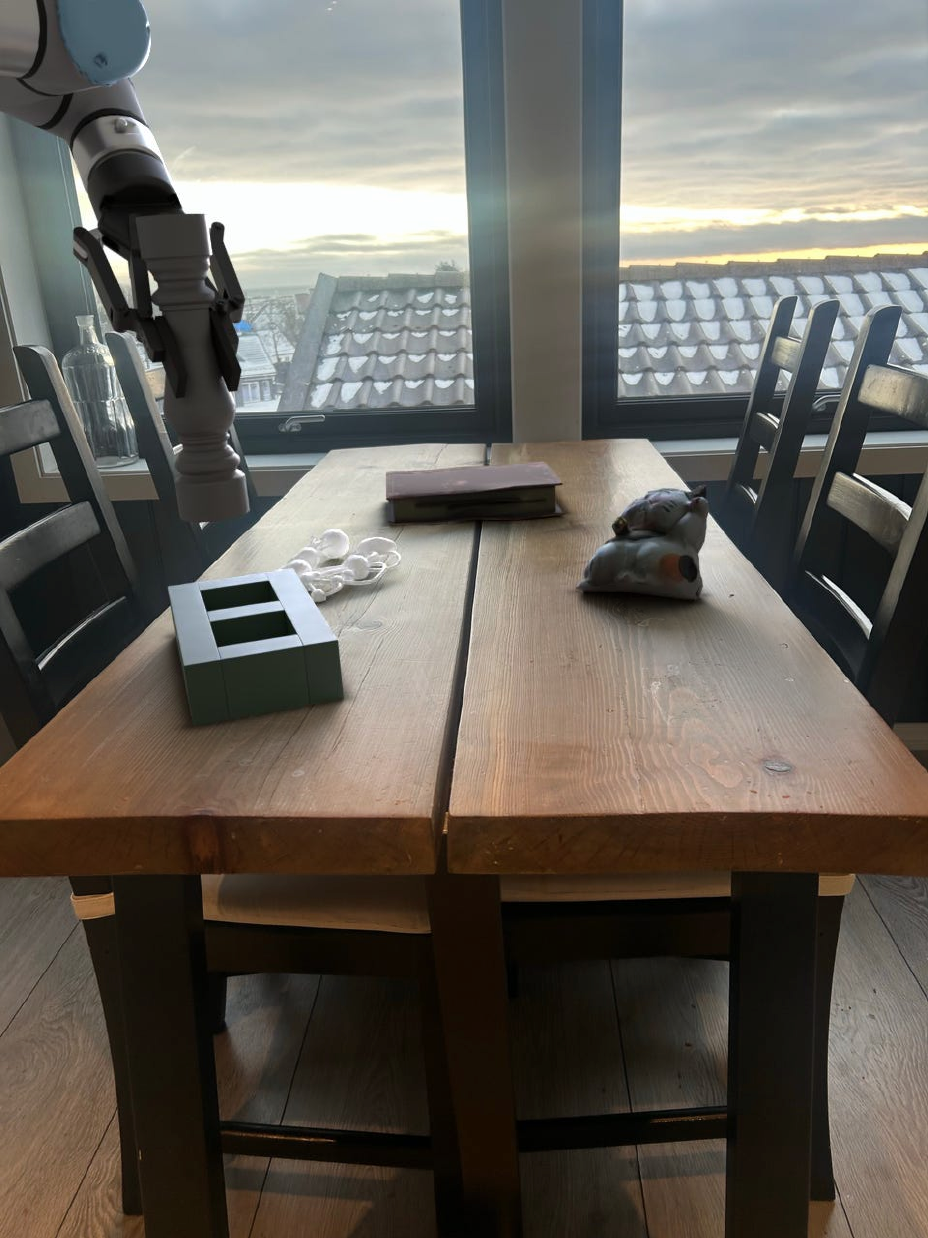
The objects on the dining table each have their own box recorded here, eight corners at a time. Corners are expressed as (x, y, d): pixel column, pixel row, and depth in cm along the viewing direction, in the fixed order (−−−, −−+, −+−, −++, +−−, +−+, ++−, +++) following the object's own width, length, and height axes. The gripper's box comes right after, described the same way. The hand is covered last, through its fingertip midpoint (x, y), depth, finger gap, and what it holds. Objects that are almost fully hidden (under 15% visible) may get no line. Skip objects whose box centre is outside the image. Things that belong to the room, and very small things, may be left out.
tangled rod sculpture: (332, 627, 109) (330, 592, 107) (228, 602, 115) (224, 568, 113) (421, 570, 124) (420, 538, 123) (325, 550, 131) (323, 520, 129)
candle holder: (260, 513, 89) (220, 212, 81) (193, 526, 86) (145, 214, 78) (234, 502, 94) (195, 217, 86) (170, 514, 91) (122, 219, 83)
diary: (388, 500, 158) (385, 468, 157) (544, 489, 160) (544, 457, 158) (388, 530, 141) (385, 495, 139) (564, 518, 142) (563, 483, 140)
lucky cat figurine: (557, 589, 113) (586, 470, 114) (648, 615, 117) (675, 500, 118) (622, 588, 99) (654, 453, 100) (723, 618, 103) (752, 488, 104)
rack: (194, 731, 84) (183, 665, 82) (176, 640, 104) (167, 586, 102) (344, 703, 88) (338, 639, 85) (299, 621, 108) (292, 568, 106)
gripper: (27, 148, 84) (105, 364, 76) (223, 147, 92) (312, 343, 84) (30, 219, 90) (103, 425, 82) (214, 213, 98) (295, 400, 90)
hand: (208, 383), depth 83 cm, fingers closed on candle holder, 4 cm apart
